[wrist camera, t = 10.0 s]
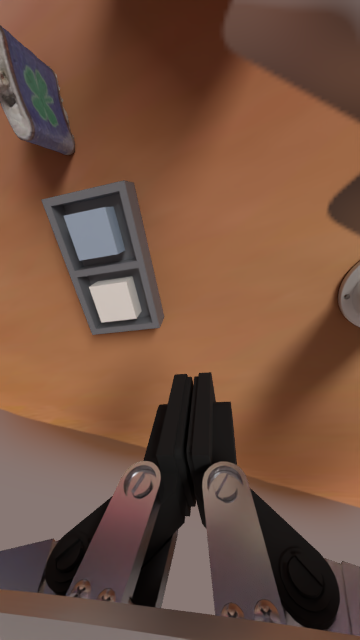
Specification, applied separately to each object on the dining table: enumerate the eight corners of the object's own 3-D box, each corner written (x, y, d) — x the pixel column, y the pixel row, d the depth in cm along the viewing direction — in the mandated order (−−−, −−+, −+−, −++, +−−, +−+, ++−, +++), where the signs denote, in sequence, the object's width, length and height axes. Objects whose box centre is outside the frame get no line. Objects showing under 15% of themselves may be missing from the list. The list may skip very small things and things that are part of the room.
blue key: (113, 206, 33) (104, 206, 31) (125, 250, 36) (118, 254, 33) (75, 214, 34) (63, 215, 32) (89, 256, 37) (79, 260, 34)
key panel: (133, 182, 34) (124, 180, 30) (164, 317, 42) (159, 327, 39) (58, 199, 36) (41, 199, 32) (102, 324, 45) (92, 334, 41)
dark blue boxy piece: (78, 153, 33) (23, 133, 23) (59, 158, 33) (-3, 139, 24) (54, 63, 29) (-24, -6, 20) (33, 69, 30) (-54, 5, 20)
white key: (132, 276, 38) (126, 281, 35) (141, 310, 40) (136, 318, 37) (97, 281, 39) (88, 287, 36) (108, 314, 41) (101, 322, 38)
